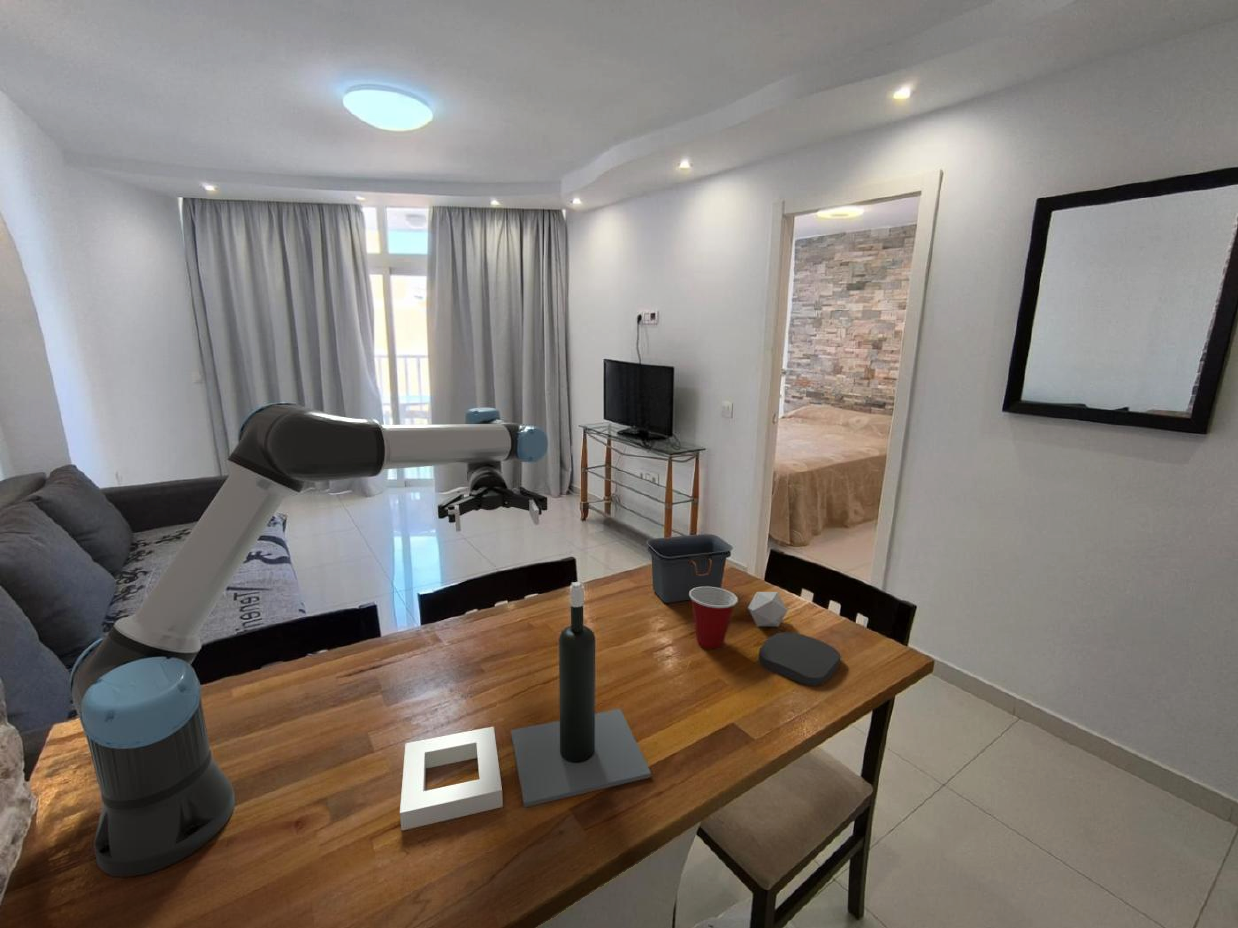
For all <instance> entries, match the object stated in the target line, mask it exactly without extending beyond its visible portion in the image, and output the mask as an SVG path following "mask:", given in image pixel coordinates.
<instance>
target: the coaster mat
mask: <svg viewBox="0 0 1238 928" xmlns="http://www.w3.org/2000/svg"><path fill="white" fill-rule="evenodd" d="M510 736H511V742H512V747H513V753H514V758H515V763H516V770H517V775H518V781H519V786H520V793H521V796H522V797H521V798H522V804H523V808H528V807H531V806H536V805H540V804H544V803H549V802H552V801H558V800H562V799H565V798H569V797H574V796H579V795H582V794H585V793H590V792H594V791H600V790H603V789H608V788H612V787H615V786H616V787H617V786H619V785H620V786H621V785H624V784H628V783H632V782H637V781H641V780H645V779H646V780H647V779H650V778H652V772H651V770H650V768H649V766H648V763H647V762H646V760H645V757H644V755H643V753H642V751H641V749H640V747H639V744H638V743H637V741H636V739H635V736H634V735H633V732H632V730H631V728H630V726H629V724H628V721H627V720H626V718H625V715H624V713H623V711H622V709H621V708H618V709H617V708H616V709H613V710H612V709H611V710H608V711H602V712H601V711H600V712H598V713H596V712H595V752H594V754H593V756H592V757H591V758H590V759H589V760H587V761H585V762H581V763H572V762H569V761H566V760H565V759H564V758H563V757H562V756H561V754H560V720H557V721H552V722H546V723H540V724H536V725H530V726H526V727H522V728H516V729H511V730H510Z"/></svg>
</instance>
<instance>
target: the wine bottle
mask: <svg viewBox="0 0 1238 928" xmlns="http://www.w3.org/2000/svg"><path fill="white" fill-rule="evenodd" d="M569 605H570V626H567V627H565V628H564V629H563V630H562V631H561V632H560V634H559V637H558V678H559V679H558V686H559V689H558V691H559V692H558V693H559V697H558V698H559V699H558V701H559V702H558V703H559V704H558V705H559V721H560V754H561V756H562V757H563V758H564V759H565V760H566V761H569V762H572V763H581V762H585V761H587V760H589V759H590V758H591V757H592V756H593V754H594V752H595V714H596V636H595V635H596V634H595V633H594V632H593V630H592V629H591V628H589V627H588V626H586V625H584V605H585V586H584V584H583V583H582V581H579V582H578V581H575V582H573V581H572V582H571V584H570V586H569Z"/></svg>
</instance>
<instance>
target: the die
mask: <svg viewBox="0 0 1238 928" xmlns="http://www.w3.org/2000/svg"><path fill="white" fill-rule="evenodd" d="M747 609H748V611H749V612H750V615H751V617H752V618H753V621H754V623H755V625H756V626H757V627H758V628H759V627H760V628H761V627H768V628H770V627H773V628H774V627H775V628H776V627H779V626H780V624H781V623H782V621H783V619H784V617H785V616H786V614H787V612H788V609H787V607H786V605H785V603H784V601H783V599H782V598H781V596H780V594H779V592H777V591H756V592H755V594H754V596H753V598H752V599H751V601H750V603H749V605H748V607H747Z"/></svg>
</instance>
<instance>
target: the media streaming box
mask: <svg viewBox="0 0 1238 928" xmlns="http://www.w3.org/2000/svg"><path fill="white" fill-rule="evenodd" d="M758 662H759V664H760V665H761V666H762V667H763V668H765V669H767V670H769V671H771V672H773V673H775V674H778V675H780V676H783V677H785V678H787V679H789V680H792V681H794V682H797V683H800V684H803V685H805V686H810V687H820V686H823V685H824V684H826V682H827V681H829V679H831V677H832V676H833V675H834V673H836V671H837V670H838V668H839V667H840V665H841V653H840V652H839V651H838V650H837V649H836V648H835V647H834V646H832V645H830V644H828V643H825V642H824V641H822V640H819V639H816V638H814V637H811V636H808V635H806V634H802V633H798V632H792V631H791V632H790V631H789V632H788V631H782V632H777V633H775V634H774V635H773V634H772V636H770V637H769V638H768V639H767V640H765V642H764V643H763V644H762V645H761V646H760V648H759V650H758Z"/></svg>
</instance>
